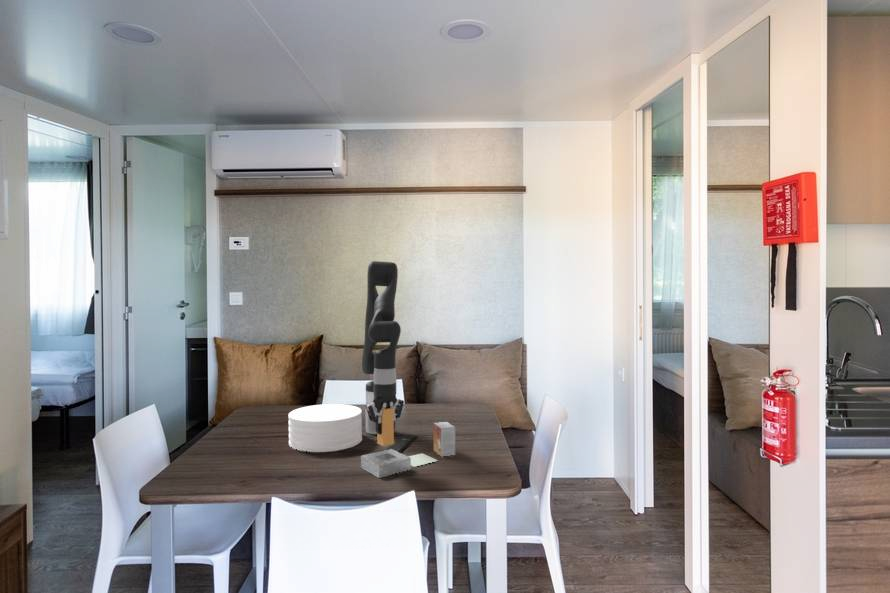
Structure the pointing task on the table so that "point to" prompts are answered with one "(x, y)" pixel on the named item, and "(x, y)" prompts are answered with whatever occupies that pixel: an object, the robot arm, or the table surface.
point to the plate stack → (325, 427)
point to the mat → (421, 460)
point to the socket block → (385, 463)
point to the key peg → (387, 428)
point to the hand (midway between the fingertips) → (385, 432)
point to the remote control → (402, 443)
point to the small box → (444, 439)
